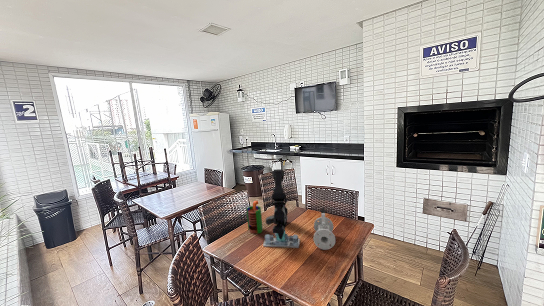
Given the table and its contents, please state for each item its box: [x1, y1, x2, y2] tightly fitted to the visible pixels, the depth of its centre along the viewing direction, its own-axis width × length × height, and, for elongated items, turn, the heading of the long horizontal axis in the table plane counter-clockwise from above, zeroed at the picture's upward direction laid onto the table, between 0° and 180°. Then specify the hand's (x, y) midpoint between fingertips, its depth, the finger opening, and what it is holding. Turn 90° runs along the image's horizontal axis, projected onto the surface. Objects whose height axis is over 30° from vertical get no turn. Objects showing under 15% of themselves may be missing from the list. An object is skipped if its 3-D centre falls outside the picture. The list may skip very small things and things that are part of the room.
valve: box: [313, 208, 336, 251], centre depth 132 cm, size 22×12×15 cm, turn 168°
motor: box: [246, 200, 263, 235], centre depth 148 cm, size 10×9×20 cm
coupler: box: [274, 230, 289, 241], centre depth 131 cm, size 4×8×4 cm, turn 79°
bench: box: [262, 234, 301, 249], centre depth 131 cm, size 8×21×5 cm, turn 79°
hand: (281, 236), depth 131 cm, fingers closed on coupler, 4 cm apart
